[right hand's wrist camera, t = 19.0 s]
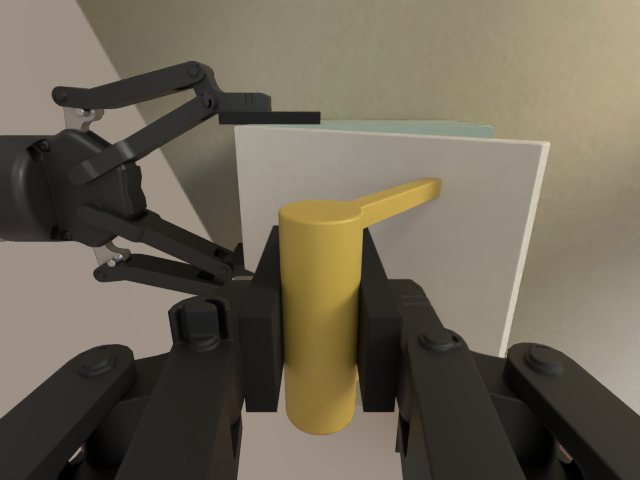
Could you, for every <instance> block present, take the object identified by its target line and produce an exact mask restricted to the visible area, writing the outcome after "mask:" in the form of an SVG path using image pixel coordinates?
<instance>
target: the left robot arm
mask: <svg viewBox="0 0 640 480" xmlns="http://www.w3.org/2000/svg"><path fill="white" fill-rule="evenodd" d="M192 88H194V91H195V93H196V95H197V97H195V98H194V99H192V100H190V101H189V102H187V103H185V104H184V105H182V106H180V107H179V108H177V109H175V110H173V111H172V112H170V113H168V114H167V115H165V116H163V117H162V118H160V119H158V120H157V121H155V122H153V123H151V124H150V125H148V126H146V127H145V128H143V129H141V130H140V131H138V132H136V133H135V134H133V135H131V136H129V137H128V138H126V139H124V140H122V141H120V142H117V143H115V144H113V145H112V144H110V143H109V142H107V141H106V140H104V139H103V138H101V137H100V136H98V135H97V134H95V133H94V132H92V131H90V130H89V125H90V123H91V122H93V121H97V120H100V119H101V118H102V116H103V114H104V110H103V109H116V108H121V107H125V106H129V105H133V104H136V103H140V102H144V101H147V100H151V99H155V98H159V97H162V96H166V95H170V94H173V93H177V92H181V91H185V90H188V89H192ZM52 98H53V100H54V101H55V103H56V104H58V105H59V106H62V107H63V108H64V116H65V124H66V129H65V130H63V131H61V132H60V133H58V134H56V135H1V136H0V242H1V241H15V242H61V241H76V242H80V243H83V244H85V245H87V246H89V247H93V249H94V252H95V255H96V258H97V261H98V264H99V267H98V268H96V269H95V270H94V272H93V275H94V277H95V279H96V280H98V281H99V282H112V281H122V280H127V281H132V282H137V283H141V284H146V285H151V286H155V287H160V288H165V289H169V290H174V291H179V292H184V293H188V294H193V295H198V296H202V295H215V294H216V292H217V291H218V289H219V288H220V287H221V286H222V285H224V284H225V283H227V282H228V281H229V280H232V278H233V277H235V276H254V273H253V272H251V271H249V270H246V269H245V264H244V251H243V243H238V245H237V247H236V248H235V250H234V252H232V251H230V250H228V249H226V248H223V247H221V246H219V245H217V244H215V243H213V242H210V241H208V240H206V239H204V238H202V237H200V236H198V235H195V234H193V233H191V232H189V231H187V230H185V229H182V228H180V227H178V226H176V225H174V224H172V223H170V222H167V221H165V220H163V219H161V218H160V216H159V215H158V214H157V213H155V212H152V211H150V210H148V209H146V207H147V205H146V199H145V196H144V193H143V191H142V189H141V179H142V175H141V169H140V166H137V165H136V164H135V162H136V161H138V160H139V159H141V158H143V157H145V156H146V155H148V154H150V152H152V151H154V150H155V149H157V148H159V147H161V146H162V145H164V144H166V143H167V142H169V141H171V140H173V139H174V138H176V137H178V136H180V135H181V134H183V133H185V132H187V131H188V130H190V129H192V128H194V127H195V126H197V125H199V124H200V123H202V122H204V121H206V120H207V119H209V118H211V117H213V116H214V115H216V114H218V115H219V124H320V112H271V97H270V96H268V95H266V94H263V93H225V92H223V91H221V90H220V89H219V87H218V85H217V83H216V81H215V78H214V72H213V70H212V69H211V68H210V67H209V66H207V65H204V64H202V63H199V62H196V61H189V62H186V63H182V64H178V65H175V66H171V67H167V68H164V69H160V70H157V71H153V72H149V73H146V74H142V75H138V76H135V77H131V78H128V79H124V80H120V81H117V82H113V83H109V84H106V85H102V86H98V87H95V88H91V89H86V88H75V87H63V86H58V87H55V88H54V89H53V91H52ZM117 236H120V237H123V238H125V239H127V240H129V241H132V242H142V243H145V244H147V245H149V246H152V247H154V248H156V249H158V250H160V251H163V252H165V253H167V254H169V255H172V256H174V257H176V258H178V259H180V260H183V261H185V262H187V263H189V264H186V263H181V262H177V261H172V260H168V259H163V258H159V257H154V256H150V255H144V254H131V252H130V250H129V249H122V248H118V247H116V246H114V244H113V243H112V240H113V239H114V238H116V237H117ZM191 264H192V265H191Z"/></svg>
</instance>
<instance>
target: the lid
mask: <svg viewBox="0 0 640 480" xmlns="http://www.w3.org/2000/svg"><path fill="white" fill-rule="evenodd" d="M234 134H235V147H236V160H237V173H238V186H239V199H240V212H241V225H242V238H243V251H244V264H245V269H246V270H249V271H251V272H253V273H255V271H256V268H257V266H258V263H259V261H260V258H261V255H262V253H263V250H264V248H265V245H266V243H267V240H268V237H269V235H270V232H271V230H272V227H273V225H279V245H280V271H281V296H282V321H283V346H284V372H285V397H286V412H287V416H288V418H289V419H290V421H291V422H292V423H293V425H294V426H295V427H297V428H298V429H299V430H301V431H303V432H306V433H308V434H313V435H329V434H333V433H336V432H338V431H340V430H342V429H343V428H344V427H346V426H347V425H348V424H349V422H350V421H351V419H352V418H353V415H354V412H355V396H356V382H357V381H358V380H359V376H358V369H357V345H358V322H359V299H360V280H361V264H362V242H363V229H364V228H366V227H368V229H369V231H370V234H371V236H372V239H373V242H374V244H375V247H376V249H377V252H378V254H379V257H380V260H381V262H382V265H383V267H384V270H385V272H386V275H387V278H388V279H411V280H413V281H414V282H416V283H417V284H418V285H420V286H421V287H422V288H423V290H424V292H425V294H426V297H428V299H429V301H430V303H431V305H432V306H433V308H434V310H435V312H436V314H437V315H438V317H439V319H440V321H441V323H442V324H443V326H444V328H447V329H450V330H452V331H454V332H456V333H457V334H458V335H460V336H461V337H462V338H463V339H464V340H465V342H466V343H467V345H468V347H469V350H472V351H474V352H478V353H482V354H486V355H491V356H496V357H501V358H504V357H505V352H506V348H507V343H508V338H509V334H510V329H511V324H512V320H513V315H514V310H515V306H516V301H517V297H518V292H519V287H520V283H521V278H522V273H523V269H524V264H525V259H526V255H527V250H528V245H529V241H530V236H531V232H532V227H533V222H534V218H535V213H536V208H537V204H538V199H539V194H540V190H541V185H542V181H543V176H544V171H545V167H546V162H547V157H548V153H549V148H550V142H548V141H530V140H511V139H493V138H474V137H456V136H437V135H419V134H400V133H382V132H363V131H345V130H326V129H308V128H289V127H271V126H252V125H246V126H234Z"/></svg>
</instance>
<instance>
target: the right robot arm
mask: <svg viewBox="0 0 640 480" xmlns="http://www.w3.org/2000/svg"><path fill="white" fill-rule="evenodd" d="M168 315H169V321H170V327H171V333H172V339H173V346H172V348H171V350H170V352H168V353H165V354H161V355H157V356H152V357H148V358H143V359H138V360H134V356H133V352H132V350H131V349H130V348H129V347H127V346H123V345H119V344H112V345H102V346H97V347H94V348H91V349H89V350H87V351H85V352H82V353H80V354H79V355H77V356H76V357H74V358H73V359H71V360H70V361H68V362H67V363H66V364H65V365H63V366H62V367H61V368H60V369H59V370H58V371H56V372H55V373H54V374H53V375H52V376H51V377H49V378H48V379H47V380H46V381H45V382H43V383H42V384H41V385H40V386H39V387H38V388H36V389H35V390H34V391H33V392H32V393H30V394H29V395H28V396H27V397H26V398H25V399H23V400H22V401H21V402H20V403H19V404H18V405H16V406H15V407H14V408H13V409H12V410H10V411H9V412H8V413H7V414H6V415H5V416H3V417H2V418H1V419H0V480H237V475H238V465H239V456H240V447H241V437H242V418H241V410H242V406H243V402H244V398H245V403H246V412H277V407H278V400H279V393H280V386H281V379H282V371H283V364H284V346H283V321H282V296H281V271H280V245H279V225H273V227H272V230H271V232H270V235H269V237H268V240H267V243H266V245H265V248H264V250H263V253H262V255H261V258H260V261H259V263H258V266H257V268H256V271H255V273H254V276H253V279H252V280H229V281H228V282H227V283H225V284H224V285H222V286H221V287H220V288H219V289H218V291H217V292H216V294H215V295H202V296H195V297H191V298H188V299H185V300H182V301H180V302H179V303H177V304H175V305H173V307H172V308H171V309H170V310H169V311H168ZM357 369H358V376H359V383H360V390H361V397H362V404H363V411H364V412H394V408H395V397H396V399H397V403H398V407H399V418H398V429H397V439H396V449H395V452H399V453H400V455H401V465H402V474H403V480H640V416H639V415H638V414H637V413H636V412H634V411H633V410H632V409H631V408H630V407H628V406H627V405H626V404H625V403H624V402H622V401H621V400H620V399H619V398H618V397H616V396H615V395H614V394H613V393H612V392H611V391H609V390H608V389H607V388H606V387H605V386H603V385H602V384H601V383H600V382H599V381H597V380H596V379H595V378H594V377H593V376H592V375H590V374H589V373H588V372H587V371H586V370H584V369H583V368H582V367H581V366H580V365H578V364H577V363H576V362H575V361H574V360H572V359H571V358H569V357H568V356H566V355H565V354H563V353H562V352H560V351H558V350H555V349H553V348H551V347H549V346H546V345H540V344H537V343H519V344H515V345H513V346H512V347H511V348H510V349H509V350H508V353H507V358H501V357H496V356H491V355H486V354H482V353H478V352H474V351H472V350H469V347H468V345H467V343H466V342H465V340H464V339H463V338H462V337H461V336H460V335H458V334H457V333H456V332H454V331H452V330H450V329H447V328H444V326H443V324H442V323H441V321H440V319H439V317H438V315H437V314H436V312H435V310H434V308H433V306H432V305H431V303H430V301H429V299H428V297H426V294H425V292H424V290H423V288H422V287H421V286H420V285H418V284H417V283H416V282H414V281H413V280H411V279H388V278H387V275H386V272H385V270H384V267H383V265H382V262H381V260H380V257H379V254H378V252H377V249H376V247H375V244H374V242H373V239H372V236H371V234H370V231H369V229H368V227H366V228H364V229H363V242H362V264H361V280H360V299H359V322H358V345H357ZM560 445H561V446H562V447H563V448H564V449H565V450H566V452H567V453H568V454H569V455H570V456H571V457H572V459H573V460H572V461H571V460H570V459H569V458H568V457H566V456H565V454H564V453H563V452H562V451H561V450H560V449H559V448H560ZM80 447H81V451H80V452H79V453H78V455H77V456H76V457H75V458H74V459H73V460H71V461H70V462H69V459H70V458H71V457H72V456H73V455H74V454H75V452H76V451H77V450H78V449H79V448H80Z"/></svg>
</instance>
